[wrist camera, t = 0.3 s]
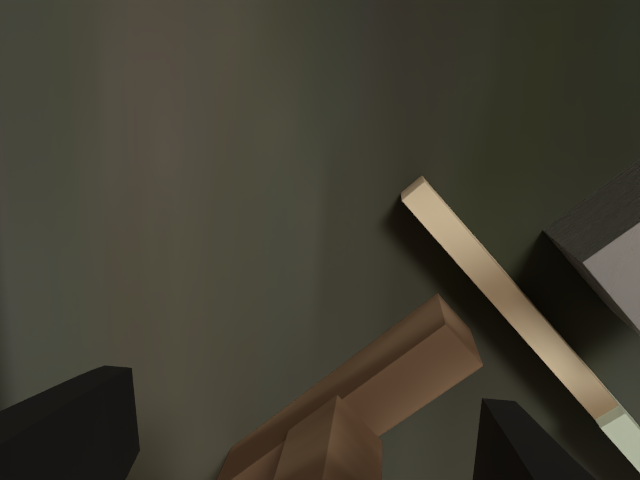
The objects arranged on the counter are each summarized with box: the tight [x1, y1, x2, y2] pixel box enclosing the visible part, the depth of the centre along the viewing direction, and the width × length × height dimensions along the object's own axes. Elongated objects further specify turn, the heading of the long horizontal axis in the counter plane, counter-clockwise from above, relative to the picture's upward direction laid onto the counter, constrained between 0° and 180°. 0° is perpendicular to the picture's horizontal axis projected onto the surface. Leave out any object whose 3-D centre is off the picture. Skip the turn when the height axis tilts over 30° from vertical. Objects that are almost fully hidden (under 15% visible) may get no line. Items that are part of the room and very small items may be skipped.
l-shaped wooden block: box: [217, 293, 483, 480], centre depth 17 cm, size 2×12×9 cm, turn 133°
